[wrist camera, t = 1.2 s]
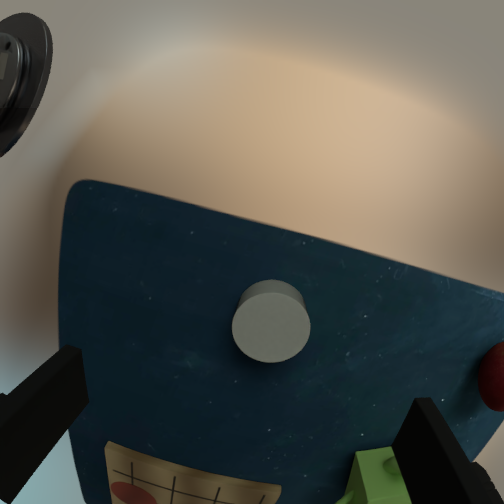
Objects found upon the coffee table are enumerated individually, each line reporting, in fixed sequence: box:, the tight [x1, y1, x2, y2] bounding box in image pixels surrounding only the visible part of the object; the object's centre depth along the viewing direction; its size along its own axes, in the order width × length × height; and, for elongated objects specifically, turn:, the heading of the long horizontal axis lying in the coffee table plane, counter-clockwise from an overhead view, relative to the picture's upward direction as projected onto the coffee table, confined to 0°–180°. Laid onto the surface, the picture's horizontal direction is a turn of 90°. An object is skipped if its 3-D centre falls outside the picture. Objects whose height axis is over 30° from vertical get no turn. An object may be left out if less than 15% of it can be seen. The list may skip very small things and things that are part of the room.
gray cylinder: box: [232, 280, 310, 363], centre depth 28 cm, size 6×6×4 cm
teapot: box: [335, 447, 412, 504], centre depth 28 cm, size 15×13×11 cm
